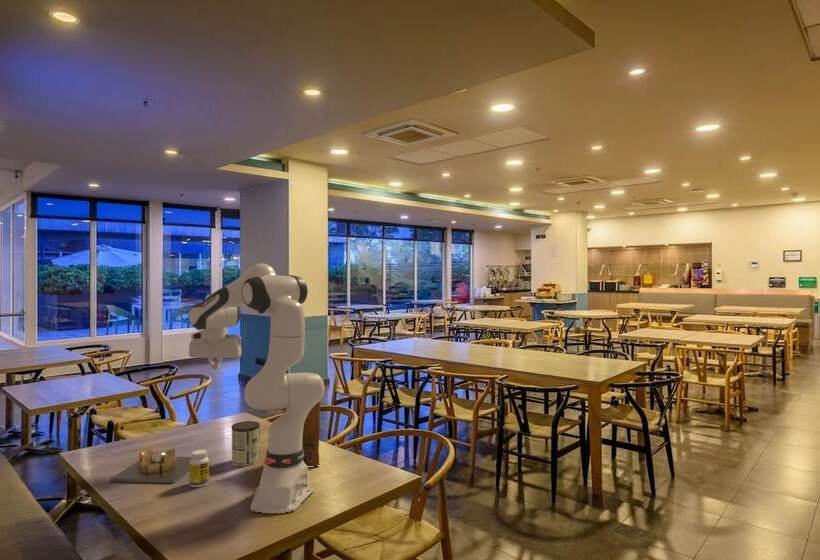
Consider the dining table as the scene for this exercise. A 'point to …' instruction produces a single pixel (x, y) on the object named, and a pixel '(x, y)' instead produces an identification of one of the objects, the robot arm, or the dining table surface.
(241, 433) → the coffee can
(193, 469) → the pill bottle
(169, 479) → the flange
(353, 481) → the dining table surface
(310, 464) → the pancake mix bag
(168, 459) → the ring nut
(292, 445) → the robot arm
